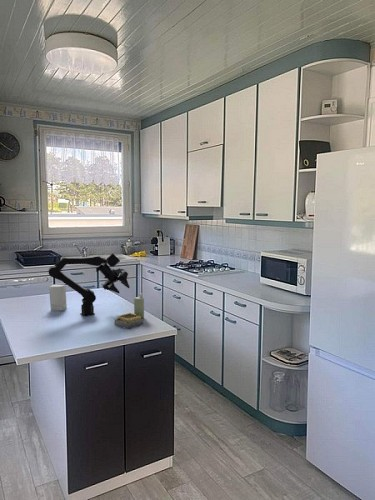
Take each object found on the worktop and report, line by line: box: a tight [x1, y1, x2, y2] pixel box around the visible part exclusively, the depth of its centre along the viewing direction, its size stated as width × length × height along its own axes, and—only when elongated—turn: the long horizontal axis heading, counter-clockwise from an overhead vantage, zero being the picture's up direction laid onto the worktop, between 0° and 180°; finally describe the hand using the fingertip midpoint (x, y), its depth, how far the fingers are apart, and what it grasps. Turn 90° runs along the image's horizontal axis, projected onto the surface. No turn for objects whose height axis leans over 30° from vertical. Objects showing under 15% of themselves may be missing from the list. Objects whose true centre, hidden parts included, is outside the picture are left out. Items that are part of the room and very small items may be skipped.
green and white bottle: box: [133, 292, 145, 321], centre depth 223 cm, size 6×6×15 cm
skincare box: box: [48, 284, 68, 312], centre depth 243 cm, size 8×7×16 cm
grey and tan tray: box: [114, 312, 144, 330], centre depth 213 cm, size 11×11×4 cm
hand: (124, 290), depth 239 cm, fingers open, 9 cm apart
